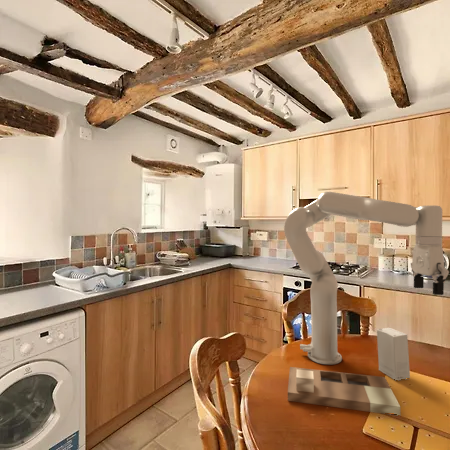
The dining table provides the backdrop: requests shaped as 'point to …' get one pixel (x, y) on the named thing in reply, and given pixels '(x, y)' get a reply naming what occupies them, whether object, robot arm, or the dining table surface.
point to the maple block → (304, 381)
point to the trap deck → (346, 391)
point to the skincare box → (393, 353)
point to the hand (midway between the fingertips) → (427, 291)
